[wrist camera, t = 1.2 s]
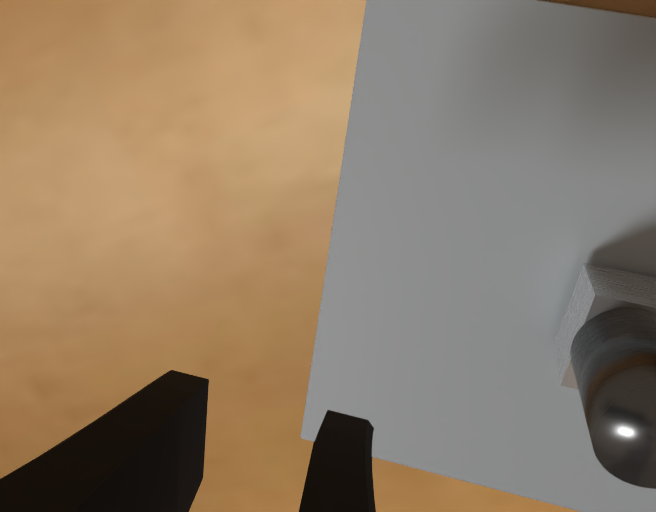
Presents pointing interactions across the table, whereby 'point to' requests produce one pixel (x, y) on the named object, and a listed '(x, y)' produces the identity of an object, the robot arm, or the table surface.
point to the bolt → (613, 367)
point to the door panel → (484, 235)
